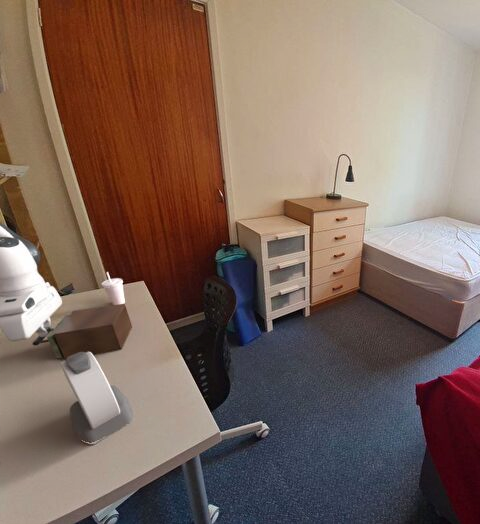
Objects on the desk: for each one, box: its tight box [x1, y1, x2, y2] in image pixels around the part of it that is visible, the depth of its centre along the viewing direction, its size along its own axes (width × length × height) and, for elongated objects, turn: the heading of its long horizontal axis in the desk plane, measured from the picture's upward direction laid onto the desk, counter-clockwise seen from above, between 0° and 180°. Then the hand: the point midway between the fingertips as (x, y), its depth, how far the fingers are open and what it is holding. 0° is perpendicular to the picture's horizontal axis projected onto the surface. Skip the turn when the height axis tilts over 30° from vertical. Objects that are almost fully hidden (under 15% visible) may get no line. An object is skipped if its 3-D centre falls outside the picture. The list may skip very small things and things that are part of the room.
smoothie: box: [101, 271, 126, 305], centre depth 109 cm, size 6×6×14 cm
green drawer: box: [31, 314, 70, 359], centre depth 87 cm, size 17×11×8 cm, turn 113°
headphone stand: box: [60, 352, 133, 443], centre depth 63 cm, size 16×10×18 cm, turn 53°
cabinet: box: [54, 303, 133, 360], centre depth 89 cm, size 14×13×10 cm
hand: (46, 333), depth 84 cm, fingers closed, pressing on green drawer
